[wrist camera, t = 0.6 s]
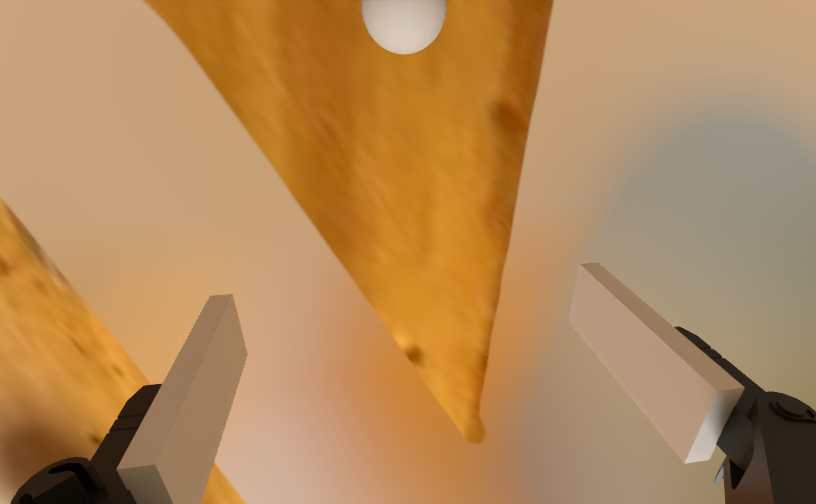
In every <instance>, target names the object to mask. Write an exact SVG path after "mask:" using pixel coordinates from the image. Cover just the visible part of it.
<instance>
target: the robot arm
mask: <svg viewBox="0 0 816 504" xmlns="http://www.w3.org/2000/svg"><path fill="white" fill-rule="evenodd" d="M568 321H569V323H570V324H571V325H572V326H573V328H574V329H575V330H576V331H577V332H578V334H579V335H580V336H581V337H582V339H583V340H584V341H585V342H586V343H587V345H588V346H589V347H590V348H591V350H592V351H593V352H594V353H595V354H596V356H597V357H598V358H599V359H600V361H601V362H602V363H603V364H604V366H605V367H606V368H607V369H608V370H609V372H610V373H611V374H612V375H613V377H614V378H615V379H616V380H617V381H618V383H619V384H620V385H621V386H622V388H623V389H624V390H625V391H626V393H627V394H628V395H629V396H630V397H631V399H632V400H633V401H634V402H635V404H636V405H637V406H638V407H639V408H640V410H641V411H642V412H643V413H644V415H645V416H646V417H647V418H648V419H649V421H650V422H651V423H652V424H653V426H654V427H655V428H656V429H657V431H658V432H659V433H660V434H661V435H662V437H663V438H664V439H665V440H666V442H667V443H668V444H669V445H670V446H671V447H672V449H673V450H674V451H675V453H676V454H677V455H678V456H679V457H680V459H681V460H682V461H683V462H684V463H692V462H698V461H705V460H709V459H710V457H711V455H712V453H713V451H714V449H715V447H716V445H718V446H719V447H720V449H721V450H722V451H723V452H725V454H726V455H727V456H726V458H725V460H724V462H723V463H722V465H721V467H720V469H719V471H718V473H717V475H716V477H715V481H714V483H715V484H718V485H719V483H720V481H721V479H723V478H724V488H725V504H816V412H815V411H814V410H813V409H812V408H811V407H810V406H808V405H806V404H805V403H803V402H802V401H800V400H798V399H796V398H794V397H791V396H788V395H786V394H782V393H778V392H765V391H764V390H763V389H762V388H760V387H759V386H758V385H757V384H755V383H754V382H753V381H752V380H751V379H749V378H748V377H747V376H746V375H745V374H743V373H742V372H741V371H740V370H738V369H737V368H736V367H735V366H733V365H732V364H731V363H730V362H729V361H727V360H726V359H725V358H722V356H721V355H720V354H719V353H718V352H716V351H715V350H714V349H711V347H710V346H709V345H708V344H707V343H705V342H704V341H703V340H702V339H701V338H699V337H698V336H697V335H695V334H693V333H691V332H689V331H687V330H685V329H683V328H681V327H673V326H672V325H670V324H669V323H668V322H667V321H666V320H665V319H664V318H662V317H661V316H660V315H659V314H658V313H656V312H655V311H654V310H653V309H652V308H651V307H649V306H648V305H647V304H646V303H645V302H644V301H642V300H641V299H640V298H639V297H638V296H637V295H635V294H634V293H633V292H632V291H631V290H629V289H628V288H627V287H626V286H625V285H624V284H623V283H621V282H620V281H619V280H618V279H617V278H615V277H614V276H613V275H612V274H611V273H610V272H608V271H607V270H606V269H605V268H604V267H602V266H601V265H600V264H599V263H588V264H580V266H579V271H578V276H577V281H576V285H575V290H574V295H573V301H572V306H571V310H570V315H569V320H568ZM247 355H248V353H247V349H246V346H245V341H244V337H243V333H242V330H241V325H240V321H239V318H238V314H237V310H236V306H235V302H234V298H233V294H227V295H216V296H210V297H209V299H208V301H207V302H206V304H205V306H204V308H203V310H202V312H201V314H200V315H199V317H198V319H197V321H196V323H195V325H194V327H193V328H192V330H191V332H190V334H189V336H188V338H187V340H186V341H185V343H184V345H183V347H182V349H181V351H180V352H179V354H178V356H177V358H176V360H175V362H174V364H173V365H172V367H171V369H170V371H169V373H168V375H167V377H166V378H165V380H164V382H163V384H155V385H146V386H143V387H142V388H141V389H140V390H139V391H137V392H136V393H135V394H134V395H133V396H132V397H131V398H130V399H129V400H128V401H127V402H126V404H125V405H124V407H123V409H122V410H121V412H120V414H119V415H118V419H117V420H115V422H114V423H113V425H112V427H111V428H110V430H109V431H110V432H109V433H108V434H107V435H106V436H105V438H104V440H103V441H102V443H101V445H100V446H99V448H98V449H97V451H96V453H95V454H94V456H93V458H92V459H91V461H89V460H88V459H87V458H80V457H73V458H68V459H63V460H60V461H58V462H56V463H53V464H51V465H49V466H47V467H45V468H44V469H42V470H41V471H39V472H38V473H36V474H35V475H33V476H32V477H31V478H30V479H29V480H28V481H27V482H26V483H25V484H24V485H22V486H21V487H20V488H19V490H18V491H17V493H16V495H15V496H14V498H13V499H12V501H11V504H201V501H202V498H203V495H204V492H205V488H206V485H207V482H208V479H209V476H210V473H211V469H212V466H213V463H214V460H215V456H216V454H217V450H218V447H219V444H220V441H221V437H222V434H223V431H224V428H225V425H226V422H227V419H228V415H229V412H230V409H231V406H232V403H233V399H234V396H235V393H236V390H237V387H238V384H239V380H240V377H241V374H242V371H243V368H244V365H245V361H246V358H247Z"/></svg>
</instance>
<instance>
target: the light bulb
mask: <svg viewBox="0 0 816 504" xmlns="http://www.w3.org/2000/svg"><path fill="white" fill-rule="evenodd" d="M361 7H362V15H363V20H364V23H365V26H366V28H367V30H368V32H369V34H370V35H371V36H372V38H373V39H374V40H375V41H376V42H377V43H378V44H379V45H380V46H382V47H383V48H384V49H386V50H388V51H390V52H393V53H397V54H411V53H415V52H418V51H420V50H422V49H424V48H425V47H427V46H428V45H429V44H430V43H432V41H433V40H434V39H435V38H436V37H437V35H438V34H439V32H440V30H441V28H442V26H443V23H444V19H445V15H446V0H362V1H361Z"/></svg>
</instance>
